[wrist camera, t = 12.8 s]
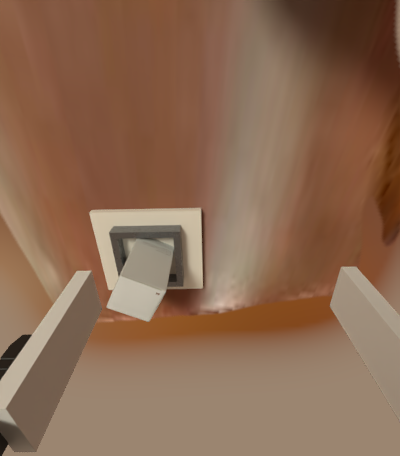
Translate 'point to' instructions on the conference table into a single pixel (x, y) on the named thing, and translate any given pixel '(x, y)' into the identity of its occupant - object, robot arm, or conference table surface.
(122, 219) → the base plate
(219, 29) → the conference table surface
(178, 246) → the collar
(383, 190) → the conference table surface
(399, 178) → the conference table surface
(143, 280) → the supplement box
